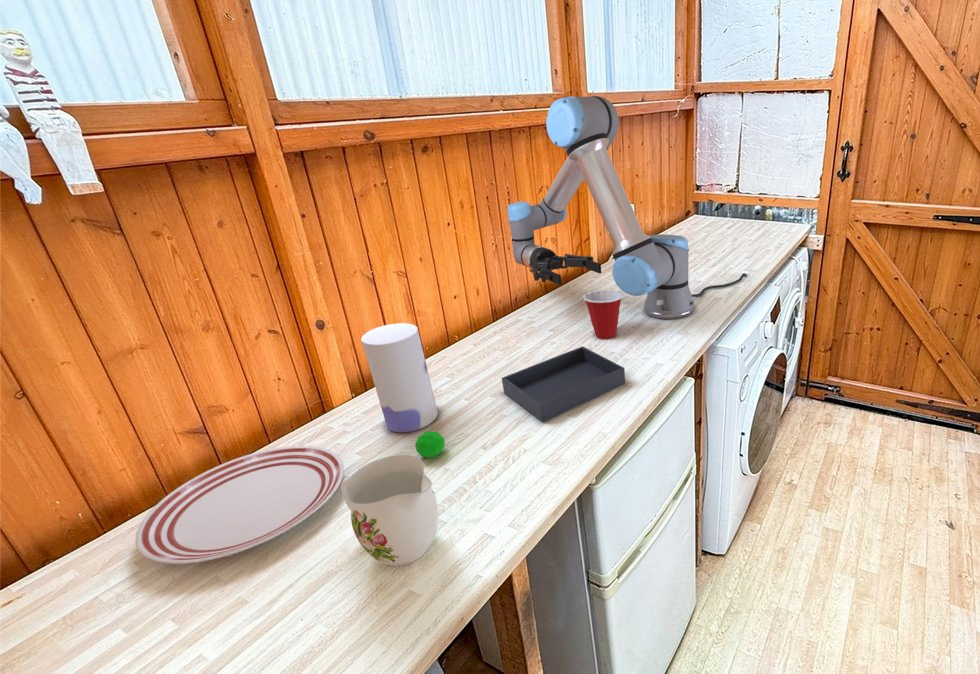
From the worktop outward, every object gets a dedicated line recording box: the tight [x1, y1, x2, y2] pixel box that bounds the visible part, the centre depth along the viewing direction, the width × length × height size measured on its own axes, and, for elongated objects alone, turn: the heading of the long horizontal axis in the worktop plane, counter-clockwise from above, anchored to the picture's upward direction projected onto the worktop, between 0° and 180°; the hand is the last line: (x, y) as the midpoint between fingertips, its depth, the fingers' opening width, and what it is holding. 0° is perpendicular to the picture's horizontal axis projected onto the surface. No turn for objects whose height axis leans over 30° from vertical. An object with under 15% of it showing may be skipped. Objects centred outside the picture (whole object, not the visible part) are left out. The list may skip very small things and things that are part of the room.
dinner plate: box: [135, 445, 345, 565], centre depth 85 cm, size 27×27×3 cm
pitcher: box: [340, 454, 439, 567], centre depth 75 cm, size 11×18×14 cm, turn 68°
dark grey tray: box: [501, 346, 626, 423], centre depth 117 cm, size 22×16×4 cm
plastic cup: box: [582, 289, 624, 340], centre depth 142 cm, size 11×11×12 cm
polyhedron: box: [414, 430, 446, 459], centre depth 97 cm, size 5×5×5 cm
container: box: [360, 322, 439, 433], centre depth 105 cm, size 10×10×20 cm
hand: (580, 274), depth 144 cm, fingers open, 13 cm apart
